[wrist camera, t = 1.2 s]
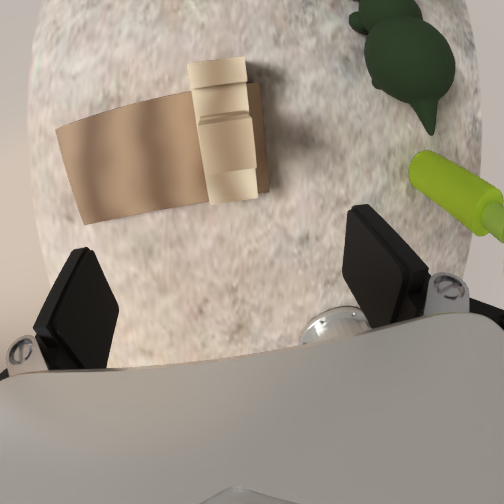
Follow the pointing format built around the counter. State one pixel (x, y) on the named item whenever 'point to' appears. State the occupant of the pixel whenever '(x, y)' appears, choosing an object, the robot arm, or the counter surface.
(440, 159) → the soap dispenser
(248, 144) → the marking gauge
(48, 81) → the counter surface
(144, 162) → the walnut board
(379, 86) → the toy figurine
